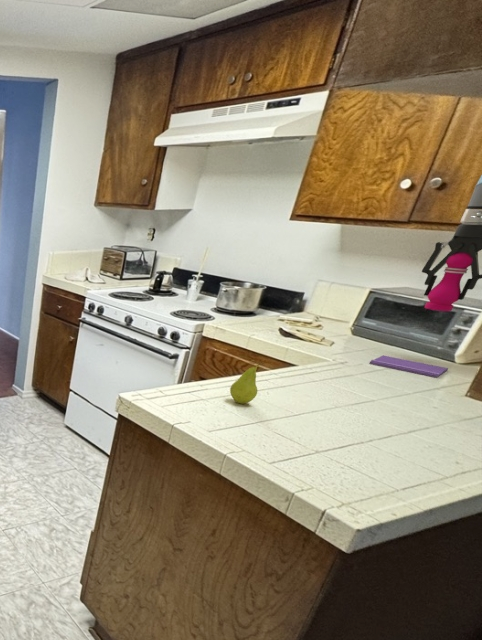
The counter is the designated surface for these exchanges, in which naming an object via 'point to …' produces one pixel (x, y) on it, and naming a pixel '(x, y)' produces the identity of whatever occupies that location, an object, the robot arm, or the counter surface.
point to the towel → (409, 366)
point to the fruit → (245, 386)
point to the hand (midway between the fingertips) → (443, 297)
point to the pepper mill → (449, 283)
